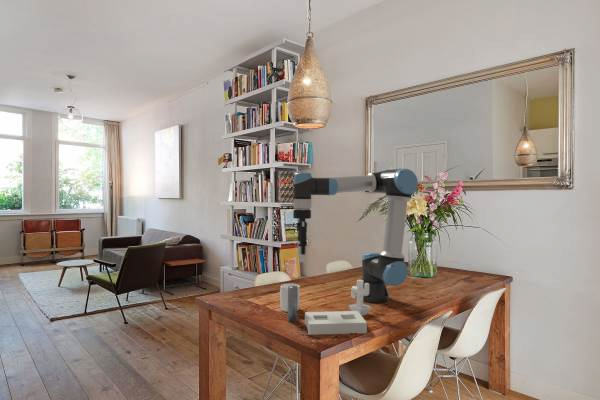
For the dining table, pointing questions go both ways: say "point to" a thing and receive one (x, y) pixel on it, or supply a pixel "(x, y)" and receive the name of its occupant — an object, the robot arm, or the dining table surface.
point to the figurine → (360, 298)
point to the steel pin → (292, 303)
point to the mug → (285, 296)
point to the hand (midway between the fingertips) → (301, 259)
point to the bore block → (335, 322)
